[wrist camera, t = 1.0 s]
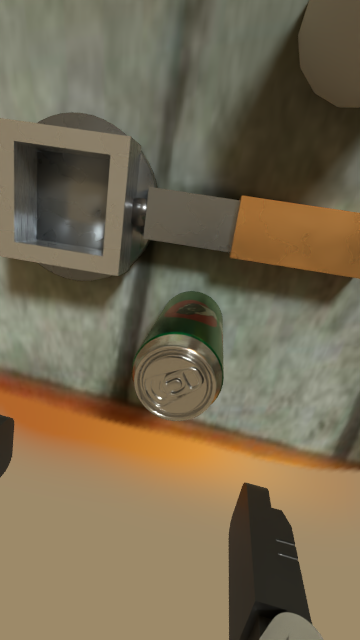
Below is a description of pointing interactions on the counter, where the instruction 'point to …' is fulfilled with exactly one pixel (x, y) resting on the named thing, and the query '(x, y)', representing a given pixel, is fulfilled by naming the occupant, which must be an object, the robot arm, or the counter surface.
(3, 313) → the counter surface
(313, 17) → the cup
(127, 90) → the counter surface
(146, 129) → the counter surface
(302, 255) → the ratchet
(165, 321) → the soda can
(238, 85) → the counter surface
